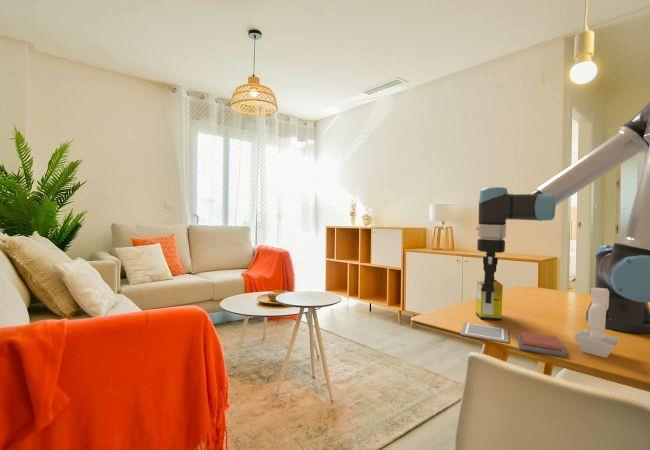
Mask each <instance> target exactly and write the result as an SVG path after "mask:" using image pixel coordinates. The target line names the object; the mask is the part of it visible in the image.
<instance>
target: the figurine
mask: <svg viewBox="0 0 650 450" xmlns="http://www.w3.org/2000/svg"><path fill="white" fill-rule="evenodd" d="M590 292H591V301H592V304H591V307H590V308H589V311H588V321H587V327H588V329H589V330H587V329H582V328H581V329H580V330H579V331H578V332H577V333H575V334H574V338H575V340H576V342H577V344H578V346H579V348H580V350H581V351H582V352H583V353H586V354H589V355H593V356H597V357H602V358H604V359H608V357H609V356H610V355H611V353H612V351H613V350H614V349H615V347H616V345H617V343H619V341H620V339H621V337H618V336H614V335H609V334H606V328H605V321H606V311H607V310H608V307H609V290H608V289H607V288H595V287H591V288H590Z"/></svg>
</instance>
